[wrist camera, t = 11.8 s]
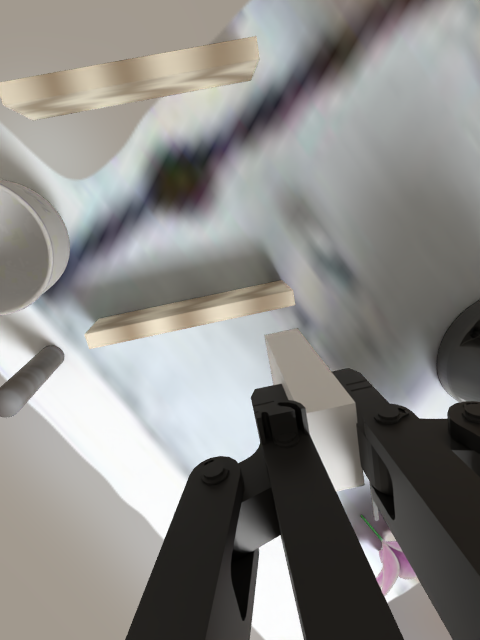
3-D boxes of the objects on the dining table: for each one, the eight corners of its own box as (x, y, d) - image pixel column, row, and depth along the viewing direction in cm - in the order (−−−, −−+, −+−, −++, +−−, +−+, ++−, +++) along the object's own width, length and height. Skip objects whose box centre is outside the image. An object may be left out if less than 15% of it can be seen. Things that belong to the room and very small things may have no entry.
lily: (333, 556, 54) (384, 625, 47) (329, 531, 46) (389, 610, 39) (390, 505, 57) (446, 563, 50) (395, 474, 49) (462, 538, 42)
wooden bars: (242, 25, 31) (260, -53, 22) (287, 316, 40) (314, 350, 30) (-71, 81, 30) (-195, 23, 21) (45, 368, 39) (-5, 420, 29)
